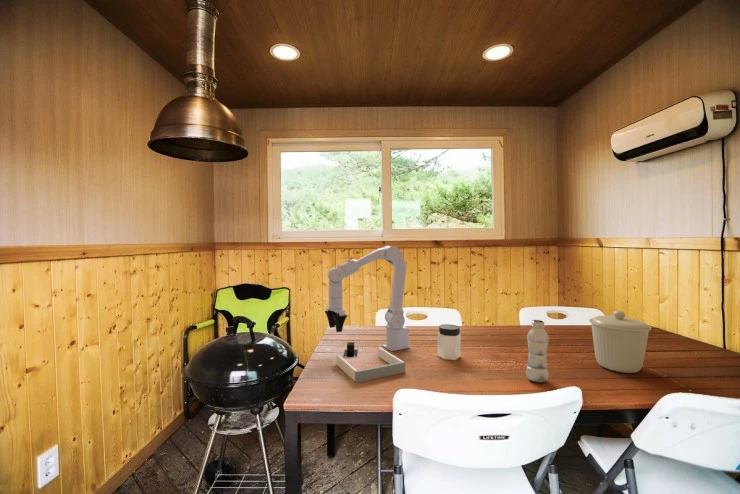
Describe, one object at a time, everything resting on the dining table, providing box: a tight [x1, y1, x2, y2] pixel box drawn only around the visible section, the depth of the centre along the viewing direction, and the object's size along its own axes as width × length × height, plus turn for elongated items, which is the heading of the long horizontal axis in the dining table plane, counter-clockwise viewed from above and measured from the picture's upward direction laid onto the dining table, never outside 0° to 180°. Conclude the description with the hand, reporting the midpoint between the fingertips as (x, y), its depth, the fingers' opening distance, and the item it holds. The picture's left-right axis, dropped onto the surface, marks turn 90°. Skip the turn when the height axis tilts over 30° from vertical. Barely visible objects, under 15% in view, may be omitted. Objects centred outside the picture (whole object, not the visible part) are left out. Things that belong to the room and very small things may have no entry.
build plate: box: [342, 341, 359, 358], centre depth 135 cm, size 12×7×5 cm, turn 0°
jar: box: [437, 323, 462, 361], centre depth 132 cm, size 9×8×12 cm
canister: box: [588, 310, 652, 374], centre depth 121 cm, size 18×18×21 cm
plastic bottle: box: [525, 319, 550, 383], centre depth 109 cm, size 6×7×20 cm
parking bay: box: [335, 347, 406, 384], centre depth 120 cm, size 19×18×4 cm
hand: (335, 329), depth 137 cm, fingers open, 7 cm apart
